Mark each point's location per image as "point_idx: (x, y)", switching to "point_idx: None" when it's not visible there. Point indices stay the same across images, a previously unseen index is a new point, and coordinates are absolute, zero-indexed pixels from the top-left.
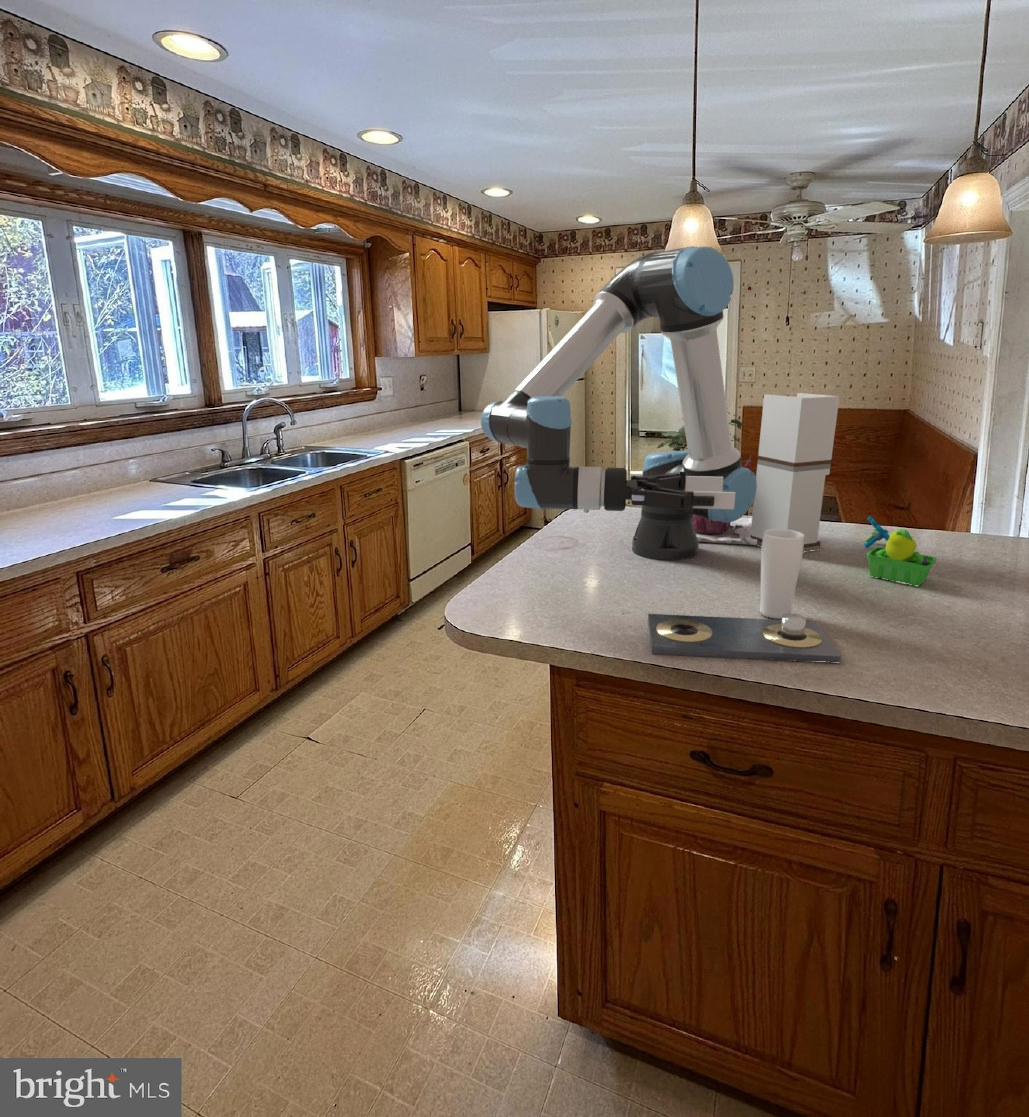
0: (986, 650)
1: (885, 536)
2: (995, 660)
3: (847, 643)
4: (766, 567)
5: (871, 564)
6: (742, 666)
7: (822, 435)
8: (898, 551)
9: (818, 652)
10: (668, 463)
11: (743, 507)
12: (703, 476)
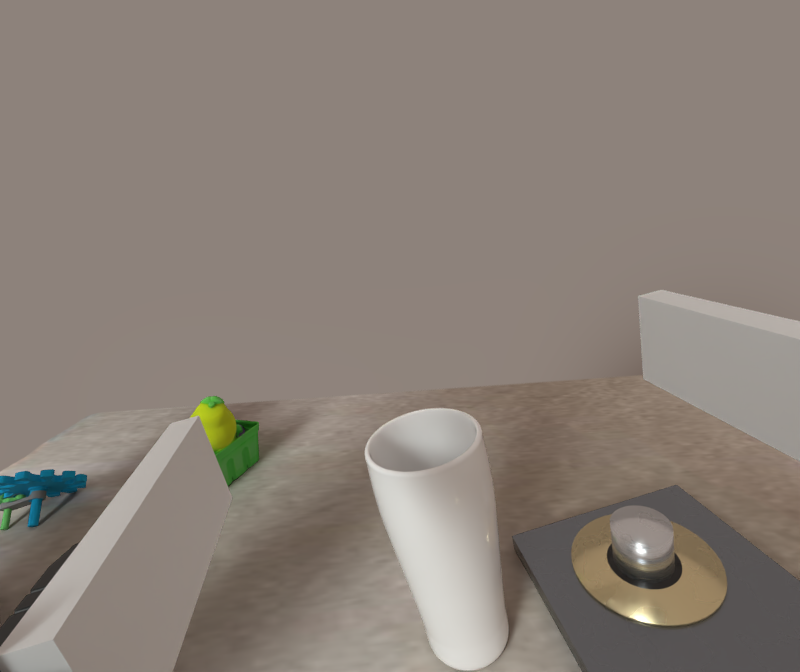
0: (483, 401)
1: (71, 476)
2: (511, 394)
3: (562, 499)
4: (486, 542)
5: None
6: None
7: None
8: (230, 429)
9: (693, 512)
10: None
11: None
12: (117, 501)
